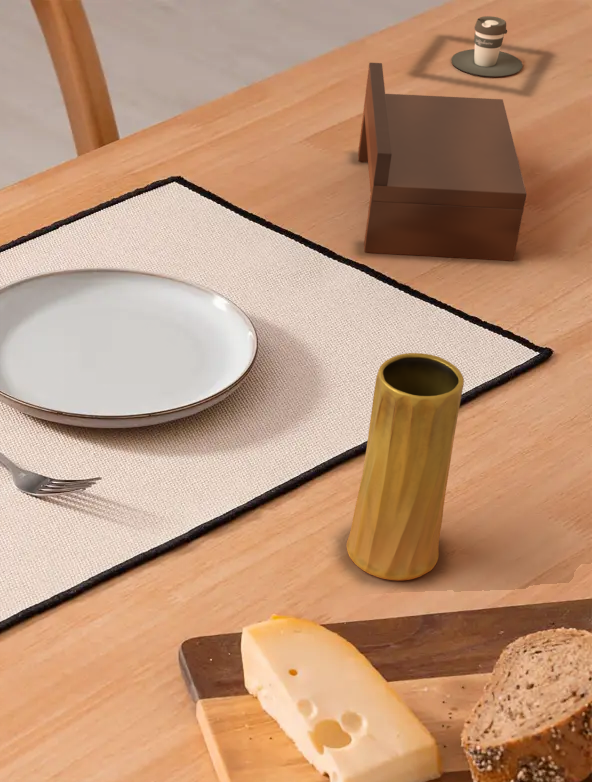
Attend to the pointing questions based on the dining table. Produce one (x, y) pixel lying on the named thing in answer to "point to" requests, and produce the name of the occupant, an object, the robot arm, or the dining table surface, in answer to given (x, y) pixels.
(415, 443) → the vase
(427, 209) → the wooden box with backboard
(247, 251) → the dining table surface
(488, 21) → the coffee cup
